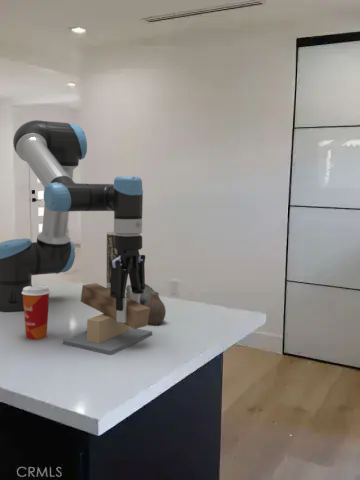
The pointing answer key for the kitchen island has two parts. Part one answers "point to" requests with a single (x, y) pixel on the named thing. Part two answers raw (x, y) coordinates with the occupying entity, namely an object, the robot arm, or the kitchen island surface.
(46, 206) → the robot arm
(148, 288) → the mineral rock
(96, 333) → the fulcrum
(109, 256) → the paper tube
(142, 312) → the walnut bar
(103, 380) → the kitchen island surface
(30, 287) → the paper cup
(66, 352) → the kitchen island surface
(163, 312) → the vase
